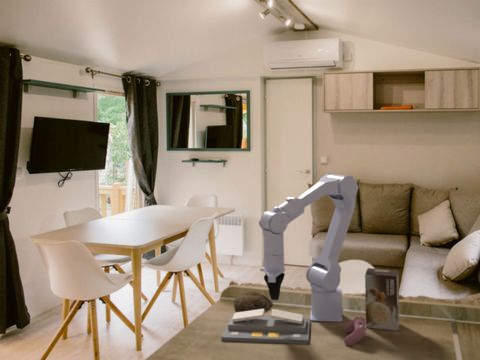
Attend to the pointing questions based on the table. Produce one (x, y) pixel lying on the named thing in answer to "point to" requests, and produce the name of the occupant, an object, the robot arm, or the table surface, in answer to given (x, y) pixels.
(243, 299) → the bread roll
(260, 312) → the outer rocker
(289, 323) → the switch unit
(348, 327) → the pink curved piece
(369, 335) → the table surface
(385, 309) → the coffee box
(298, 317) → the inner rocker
